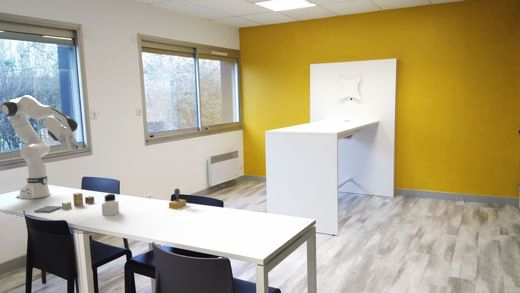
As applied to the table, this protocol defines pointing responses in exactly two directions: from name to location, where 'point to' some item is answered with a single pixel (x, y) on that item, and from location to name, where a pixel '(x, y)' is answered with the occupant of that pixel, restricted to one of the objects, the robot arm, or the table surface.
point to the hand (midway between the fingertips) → (77, 147)
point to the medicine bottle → (110, 205)
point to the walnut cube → (89, 199)
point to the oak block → (78, 199)
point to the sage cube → (66, 205)
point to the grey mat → (48, 209)
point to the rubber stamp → (177, 201)
